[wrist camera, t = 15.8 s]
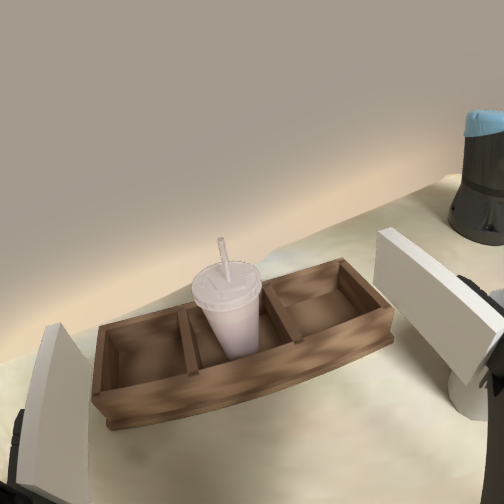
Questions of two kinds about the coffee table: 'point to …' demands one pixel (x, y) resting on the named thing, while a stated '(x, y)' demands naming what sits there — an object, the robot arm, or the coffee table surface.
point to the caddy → (244, 369)
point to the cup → (472, 386)
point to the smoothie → (230, 303)
